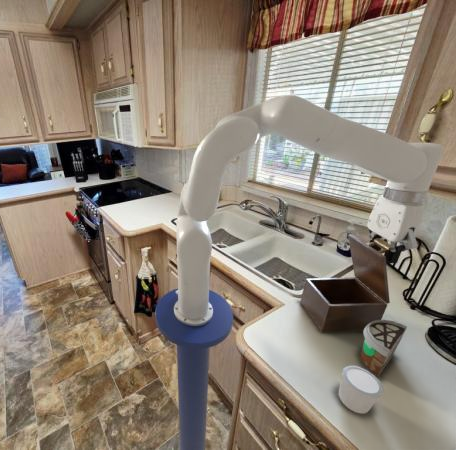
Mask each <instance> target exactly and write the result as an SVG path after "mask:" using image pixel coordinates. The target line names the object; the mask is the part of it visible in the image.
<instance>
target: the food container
mask: <svg viewBox="0 0 456 450" xmlns="http://www.w3.org/2000/svg"><path fill="white" fill-rule="evenodd" d="M407 329H408V326H407V325H406V324H405V325H404V324H402V323H400V322H396V321H393V320H388V319H381V320H375V321H372V322H371V323H369V324H368V325H367V326H366V327H365V329H364V331H363V336H364V341H363V345H362V349H361V351H360V359H361V362H362V364H363V365H364V366H365V367H366V369H367V370H368V371H369V372H370V373H372V374H373V375H374V376H375V377H379V376H380V374H381V373H382V372H383V371H384V369H385V367H387V365H388V363H389V362H390V360H391V359H392V357H393V356H394V354H395V352H396V350H397V348H398V346H399V344H400V342H401V340H402V338H403V336H404V334H405V332H406V330H407Z"/></svg>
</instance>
